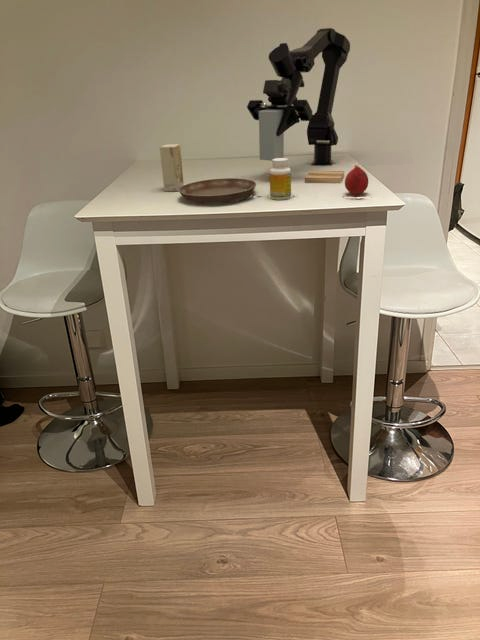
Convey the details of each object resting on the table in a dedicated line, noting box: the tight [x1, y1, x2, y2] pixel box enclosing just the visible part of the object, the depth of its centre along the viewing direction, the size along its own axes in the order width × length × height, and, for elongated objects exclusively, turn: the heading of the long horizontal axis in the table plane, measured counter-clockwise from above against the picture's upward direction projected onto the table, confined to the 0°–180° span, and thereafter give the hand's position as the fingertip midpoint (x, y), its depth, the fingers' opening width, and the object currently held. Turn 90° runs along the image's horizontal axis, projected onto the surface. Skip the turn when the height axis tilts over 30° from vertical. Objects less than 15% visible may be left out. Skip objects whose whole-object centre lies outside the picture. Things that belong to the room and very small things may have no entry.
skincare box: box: [159, 143, 185, 192], centre depth 149 cm, size 6×4×12 cm
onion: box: [344, 164, 369, 198], centre depth 131 cm, size 6×6×8 cm
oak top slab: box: [304, 170, 345, 184], centre depth 150 cm, size 10×10×2 cm
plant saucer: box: [178, 177, 257, 206], centre depth 139 cm, size 21×21×3 cm
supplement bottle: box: [269, 157, 292, 201], centre depth 133 cm, size 5×5×10 cm
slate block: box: [258, 109, 285, 162], centre depth 147 cm, size 5×5×13 cm
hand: (269, 135), depth 146 cm, fingers closed on slate block, 5 cm apart
